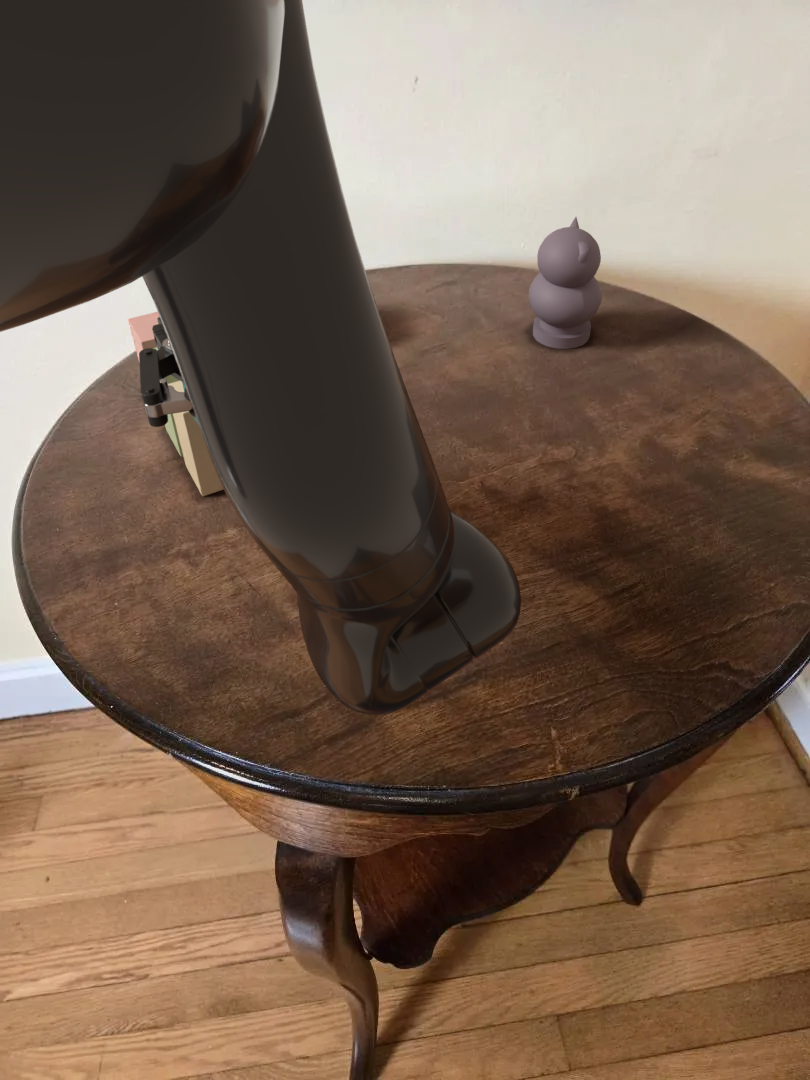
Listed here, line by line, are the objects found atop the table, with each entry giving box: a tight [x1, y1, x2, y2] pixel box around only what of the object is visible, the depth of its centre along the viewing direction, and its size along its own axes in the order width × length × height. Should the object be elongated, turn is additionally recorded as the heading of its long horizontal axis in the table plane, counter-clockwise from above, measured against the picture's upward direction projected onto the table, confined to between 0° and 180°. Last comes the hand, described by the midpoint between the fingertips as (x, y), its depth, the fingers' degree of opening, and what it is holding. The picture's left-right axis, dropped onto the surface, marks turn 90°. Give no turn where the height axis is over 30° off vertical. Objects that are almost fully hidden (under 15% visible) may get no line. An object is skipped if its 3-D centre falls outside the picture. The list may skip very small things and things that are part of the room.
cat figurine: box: [528, 216, 603, 350], centre depth 91 cm, size 8×8×12 cm
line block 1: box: [127, 311, 160, 365], centre depth 83 cm, size 5×5×9 cm
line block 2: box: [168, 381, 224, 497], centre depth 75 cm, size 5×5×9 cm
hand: (201, 319), depth 63 cm, fingers closed on teal block, 5 cm apart
